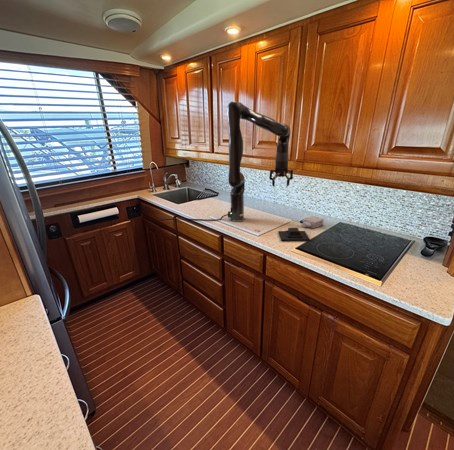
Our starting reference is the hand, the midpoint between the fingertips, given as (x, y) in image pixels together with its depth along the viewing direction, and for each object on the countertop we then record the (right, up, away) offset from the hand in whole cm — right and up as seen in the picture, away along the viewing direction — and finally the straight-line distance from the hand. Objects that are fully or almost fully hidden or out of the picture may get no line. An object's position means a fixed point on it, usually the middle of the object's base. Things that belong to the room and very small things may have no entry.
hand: (280, 186), depth 150 cm
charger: (+20, -26, +6) cm, 33 cm away
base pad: (+6, -32, -9) cm, 33 cm away
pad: (+6, -30, -9) cm, 32 cm away
